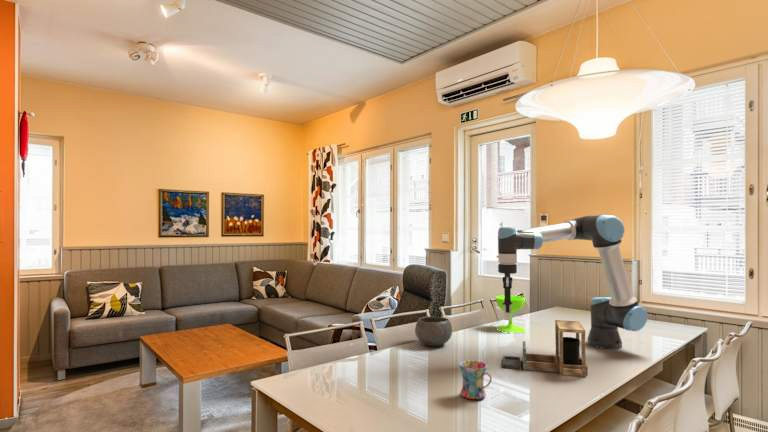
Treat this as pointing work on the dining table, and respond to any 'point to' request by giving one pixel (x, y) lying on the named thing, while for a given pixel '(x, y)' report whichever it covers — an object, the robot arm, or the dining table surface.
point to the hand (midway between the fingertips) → (507, 319)
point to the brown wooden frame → (559, 329)
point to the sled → (546, 362)
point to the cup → (570, 350)
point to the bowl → (433, 330)
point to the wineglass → (515, 306)
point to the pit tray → (511, 362)
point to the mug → (473, 379)
